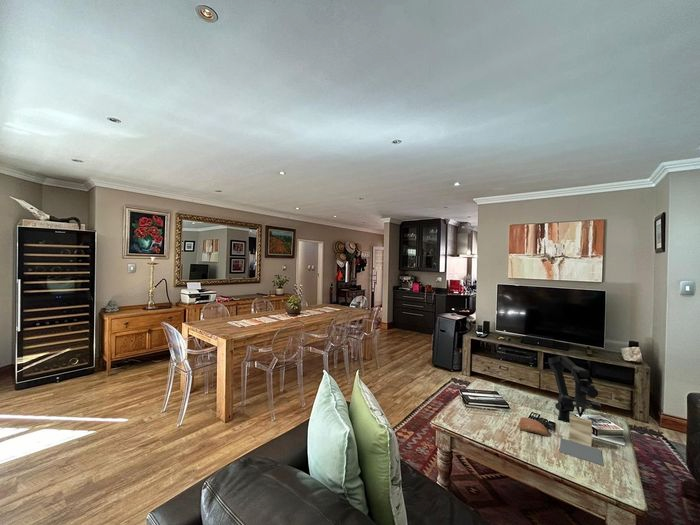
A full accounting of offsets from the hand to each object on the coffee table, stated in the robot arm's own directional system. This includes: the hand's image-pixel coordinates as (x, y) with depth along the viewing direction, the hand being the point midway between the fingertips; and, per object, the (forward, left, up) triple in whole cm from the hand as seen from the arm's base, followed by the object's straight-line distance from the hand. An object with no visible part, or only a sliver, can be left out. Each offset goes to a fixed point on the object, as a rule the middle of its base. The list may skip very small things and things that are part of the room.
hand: (580, 416), depth 184 cm
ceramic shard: (+12, -24, -10) cm, 28 cm away
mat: (+23, 0, -10) cm, 25 cm away
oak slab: (+12, 0, -10) cm, 16 cm away
